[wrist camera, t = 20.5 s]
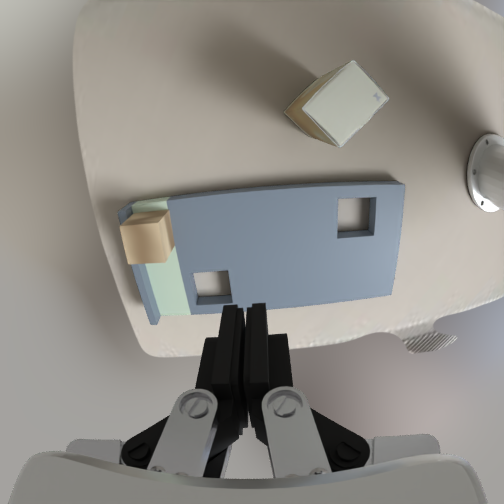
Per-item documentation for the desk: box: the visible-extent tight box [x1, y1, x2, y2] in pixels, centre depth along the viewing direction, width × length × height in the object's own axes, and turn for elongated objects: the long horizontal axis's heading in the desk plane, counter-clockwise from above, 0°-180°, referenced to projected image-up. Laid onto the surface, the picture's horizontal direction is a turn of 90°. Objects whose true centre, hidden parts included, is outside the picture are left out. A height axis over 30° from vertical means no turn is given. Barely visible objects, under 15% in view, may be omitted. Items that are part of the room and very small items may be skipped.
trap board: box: [118, 181, 405, 325], centre depth 34 cm, size 34×16×4 cm, turn 95°
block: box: [119, 210, 175, 264], centre depth 31 cm, size 4×4×4 cm
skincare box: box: [284, 60, 389, 148], centre depth 23 cm, size 6×4×12 cm
